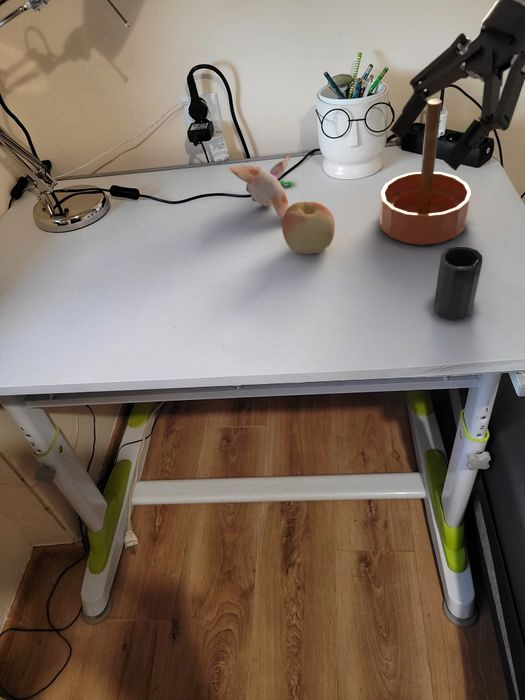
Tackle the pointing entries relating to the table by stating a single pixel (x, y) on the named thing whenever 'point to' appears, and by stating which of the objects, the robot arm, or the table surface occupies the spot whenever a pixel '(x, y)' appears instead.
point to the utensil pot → (457, 282)
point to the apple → (308, 227)
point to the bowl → (424, 228)
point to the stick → (429, 155)
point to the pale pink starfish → (265, 185)
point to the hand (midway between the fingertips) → (420, 149)
